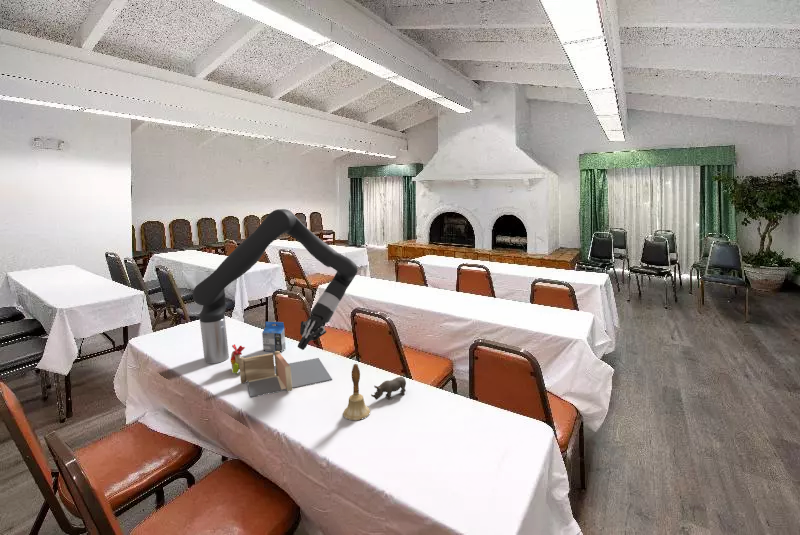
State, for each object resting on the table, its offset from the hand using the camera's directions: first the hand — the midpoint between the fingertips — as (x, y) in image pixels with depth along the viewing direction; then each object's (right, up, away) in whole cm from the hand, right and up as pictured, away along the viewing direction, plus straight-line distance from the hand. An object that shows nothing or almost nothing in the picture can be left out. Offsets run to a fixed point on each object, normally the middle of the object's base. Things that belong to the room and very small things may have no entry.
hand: (300, 348), depth 143 cm
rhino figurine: (+32, -14, -9) cm, 36 cm away
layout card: (-6, -12, +7) cm, 15 cm away
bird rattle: (-27, -11, +12) cm, 32 cm away
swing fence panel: (-5, -12, 0) cm, 13 cm away
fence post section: (-15, -12, +4) cm, 20 cm away
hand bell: (+22, -16, -19) cm, 33 cm away
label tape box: (-19, -7, +32) cm, 38 cm away
